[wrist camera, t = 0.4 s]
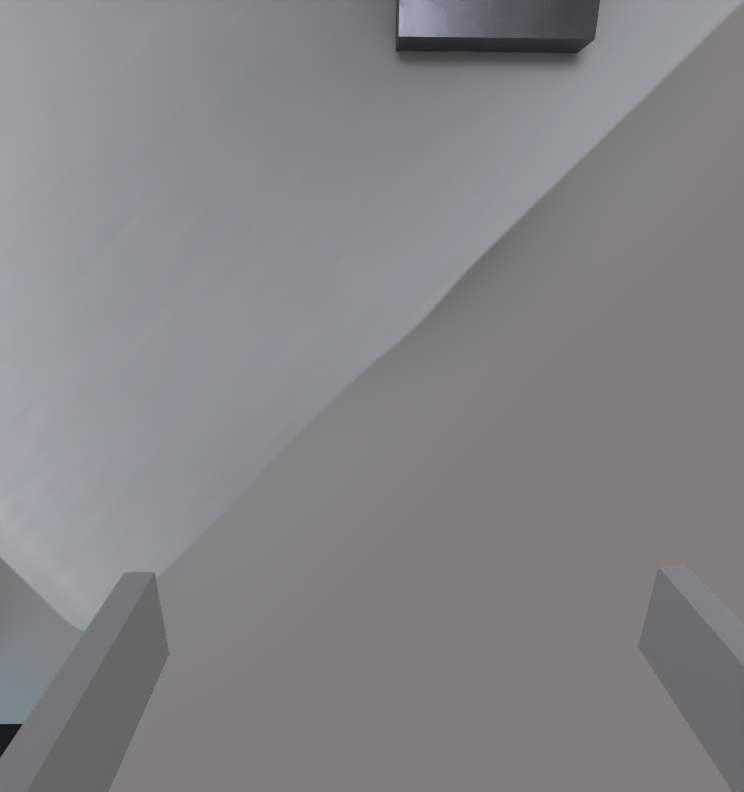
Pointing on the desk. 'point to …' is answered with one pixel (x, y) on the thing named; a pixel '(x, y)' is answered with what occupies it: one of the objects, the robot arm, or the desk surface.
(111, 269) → the desk surface
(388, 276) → the desk surface
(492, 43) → the panel
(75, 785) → the robot arm
